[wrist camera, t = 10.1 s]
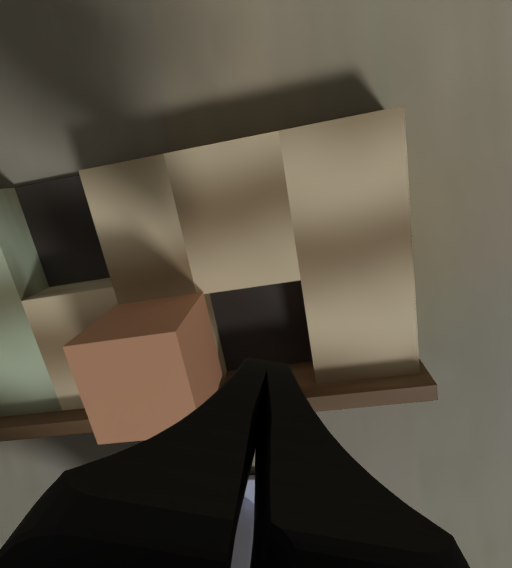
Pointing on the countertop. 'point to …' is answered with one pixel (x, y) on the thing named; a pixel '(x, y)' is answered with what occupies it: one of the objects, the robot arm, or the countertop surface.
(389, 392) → the cubby shelf
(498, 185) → the countertop surface
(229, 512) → the robot arm
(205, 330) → the block
